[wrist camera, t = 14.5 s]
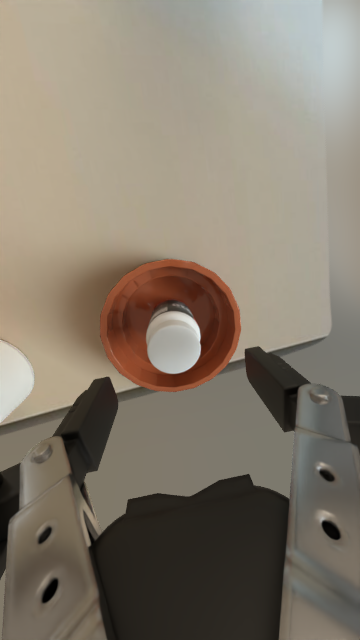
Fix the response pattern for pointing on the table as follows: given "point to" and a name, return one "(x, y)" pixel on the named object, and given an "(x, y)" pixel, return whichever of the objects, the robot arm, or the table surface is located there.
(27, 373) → the mug
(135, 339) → the bowl
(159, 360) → the pill bottle
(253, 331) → the table surface
